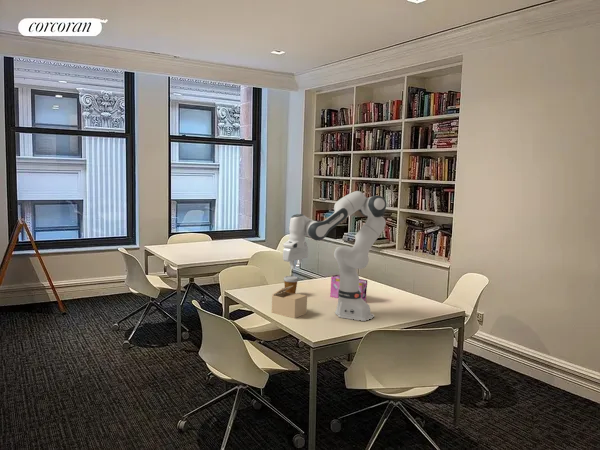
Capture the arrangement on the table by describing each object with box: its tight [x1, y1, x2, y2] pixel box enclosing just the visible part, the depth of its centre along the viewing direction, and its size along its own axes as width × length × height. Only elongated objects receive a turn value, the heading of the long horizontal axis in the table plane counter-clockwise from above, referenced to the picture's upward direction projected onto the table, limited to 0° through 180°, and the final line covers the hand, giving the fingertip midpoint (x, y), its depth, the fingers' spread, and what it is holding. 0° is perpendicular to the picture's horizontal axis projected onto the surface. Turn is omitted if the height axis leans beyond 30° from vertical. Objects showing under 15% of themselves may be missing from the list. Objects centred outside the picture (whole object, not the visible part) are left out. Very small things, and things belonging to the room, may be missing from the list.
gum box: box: [330, 274, 368, 302], centre depth 320 cm, size 24×8×14 cm, turn 57°
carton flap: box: [271, 285, 293, 296], centre depth 285 cm, size 8×11×1 cm
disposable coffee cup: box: [283, 275, 299, 294], centre depth 322 cm, size 10×10×12 cm
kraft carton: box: [271, 291, 308, 319], centre depth 283 cm, size 16×12×10 cm
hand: (295, 267), depth 279 cm, fingers open, 4 cm apart
